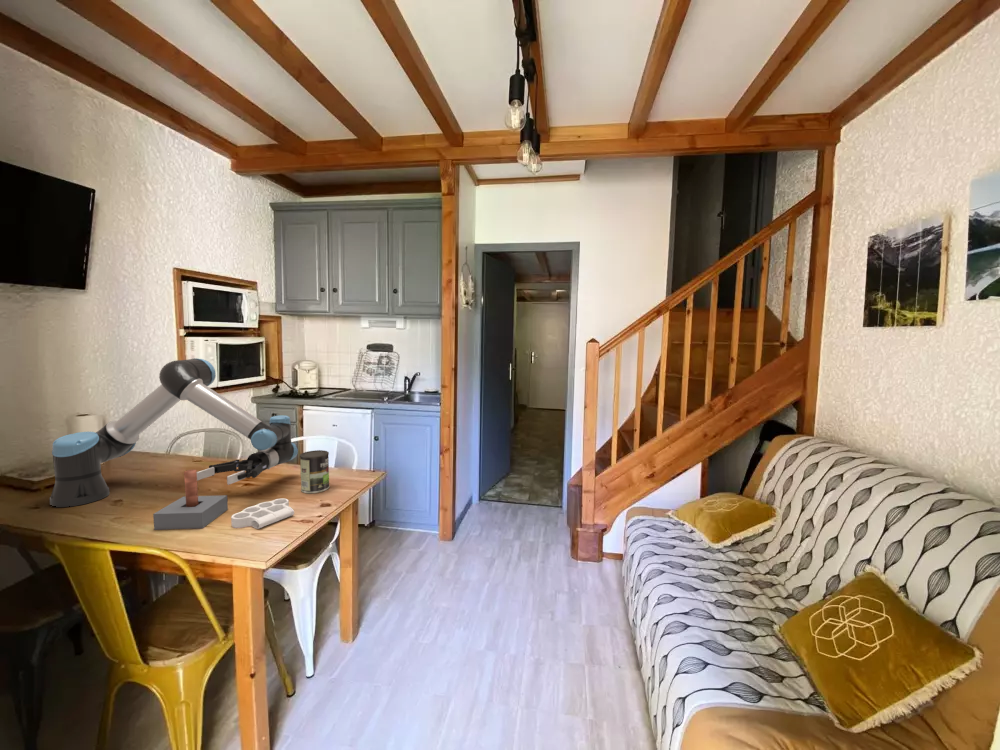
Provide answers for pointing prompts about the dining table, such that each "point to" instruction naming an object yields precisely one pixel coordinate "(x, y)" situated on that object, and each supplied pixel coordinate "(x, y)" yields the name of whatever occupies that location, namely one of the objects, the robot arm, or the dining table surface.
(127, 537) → the dining table surface
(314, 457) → the coffee can
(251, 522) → the knuckle duster
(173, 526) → the socket block
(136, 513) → the dining table surface
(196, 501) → the dowel
